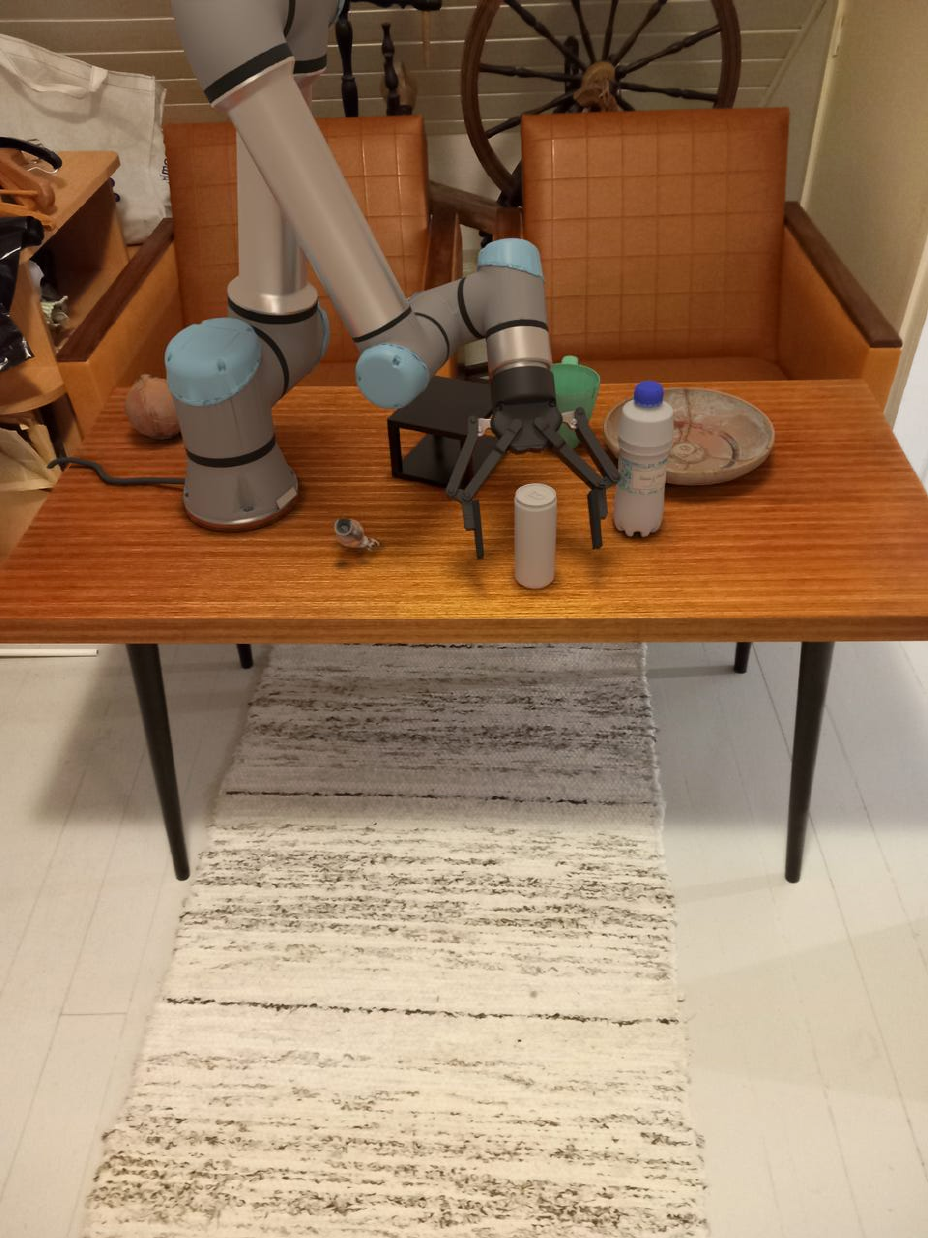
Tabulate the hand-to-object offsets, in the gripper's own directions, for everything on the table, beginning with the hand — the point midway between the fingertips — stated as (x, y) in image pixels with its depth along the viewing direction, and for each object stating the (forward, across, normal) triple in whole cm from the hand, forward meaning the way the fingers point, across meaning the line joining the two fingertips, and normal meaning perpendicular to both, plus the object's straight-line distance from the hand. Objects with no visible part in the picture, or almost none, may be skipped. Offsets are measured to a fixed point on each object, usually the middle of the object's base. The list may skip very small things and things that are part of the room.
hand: (539, 553), depth 114 cm
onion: (-28, +50, -36) cm, 68 cm away
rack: (-18, +8, -25) cm, 32 cm away
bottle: (-4, -14, -12) cm, 19 cm away
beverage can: (+2, 0, -5) cm, 6 cm away
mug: (-22, -9, -29) cm, 38 cm away
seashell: (-4, +22, -11) cm, 25 cm away
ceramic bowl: (-15, -25, -23) cm, 37 cm away
